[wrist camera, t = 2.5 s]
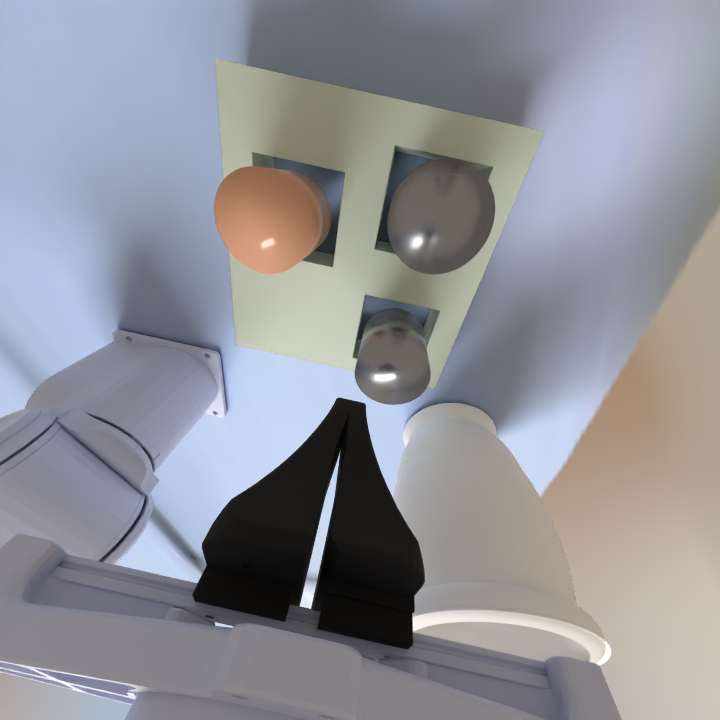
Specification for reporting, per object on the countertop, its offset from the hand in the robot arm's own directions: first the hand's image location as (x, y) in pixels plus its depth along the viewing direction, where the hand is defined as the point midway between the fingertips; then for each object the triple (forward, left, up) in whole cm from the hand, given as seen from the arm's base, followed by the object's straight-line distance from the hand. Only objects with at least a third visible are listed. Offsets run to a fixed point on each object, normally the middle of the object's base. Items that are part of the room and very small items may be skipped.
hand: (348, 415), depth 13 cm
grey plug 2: (+2, +9, -7) cm, 11 cm away
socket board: (-2, +5, -10) cm, 11 cm away
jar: (+10, -9, -10) cm, 17 cm away
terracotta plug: (-5, +7, -7) cm, 11 cm away
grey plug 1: (+2, +1, -7) cm, 7 cm away
